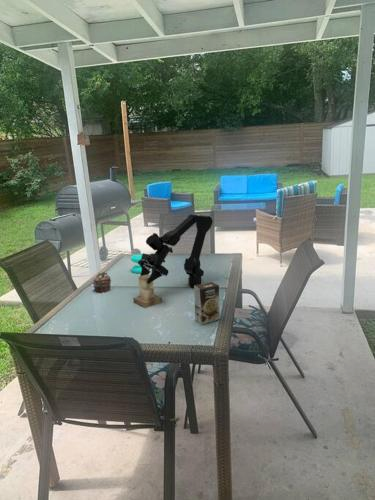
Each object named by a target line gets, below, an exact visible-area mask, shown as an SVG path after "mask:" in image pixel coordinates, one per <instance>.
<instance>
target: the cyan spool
mask: <svg viewBox="0 0 375 500" xmlns="http://www.w3.org/2000/svg"><path fill="white" fill-rule="evenodd" d="M142 254H143V253H142ZM142 254H140V253H139V254H134V255H132V256H131V257H130V260H131V262H132V263H134V264H135V263H136V264H135V265H134V266H132V268H131V272H132V273H134V274H141V271H142V269H141V266H140V265H139V264H138V261H139V260H141V257H142Z"/></svg>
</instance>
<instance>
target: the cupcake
mask: <svg viewBox="0 0 375 500" xmlns="http://www.w3.org/2000/svg"><path fill="white" fill-rule="evenodd" d="M111 283H112V280H111V276H110V275H108V273H107V272H105V271H103V272H101V273H100V272H98V274H96V276H95V277H94V279H93V282H92V285H93V288H94V291H95V293H98V294H101V293H102V294H104V293H107V292H110V290H111ZM103 292H104V293H103Z"/></svg>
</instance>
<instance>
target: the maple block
mask: <svg viewBox="0 0 375 500" xmlns="http://www.w3.org/2000/svg"><path fill="white" fill-rule="evenodd" d="M150 275H151V274H150ZM150 275H149V274H148V275H147V274H146V275H143V276H141V275H140V276H138V277H137V278H138V286H139V296H140V298H141V299H144V300H149V299H152V298H154V295H155V288H154V287H155V285H154V281H152V282H151V283H149V284H148V283H147V281H148V279H149V277H150Z"/></svg>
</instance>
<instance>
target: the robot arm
mask: <svg viewBox="0 0 375 500" xmlns="http://www.w3.org/2000/svg"><path fill="white" fill-rule="evenodd" d="M213 222H214V221H213V219H212V217H211V216H209V215H202V214H200V215H198V214H193V213H191V214H189V215H188V216H187V217H186V218H185V219H184V220H183V221H182V222H180V224H179V225H177V226H176V227H175V228H174V229H172V230H169V231H167V232H165V233H164V234H163V235H162V236H159V235H158V233H156V232H153V233H152V234H151V235H150V236H149V235H148V237H147V238H146V241H145V244H146V245H147V246H148V247H150V249H152V250H153V251H154V253H150V254H149V253H144V252H143V253H142V257H141V260H139V261H138V263H137V265H140V266H141V269H142V271H141V273H140V276H143V275H146V274H147V275H149V274H150V273H151V274H150V277H149V279H148V281H147V283H148V284H149V283H151V282H152V281H153V282H154V281H156V280H157V279H159V278H160V277H163V276H164V277H167V276H168V275H169V273H170V272H169V270H168V269H167V268H166V267H165V266H164V265H163V264H164V263H166V260H165V259H166V258H167V257H168V255H169V254H173V253H174V250H173V247H174V246H177V244H178V243H179V242H180V240H181V237H182V236H183V235H184V234H185V233H186V232H187V231H188V230H189V229H191V227H193V225H194V224H195V227H196V234H195V238H194V241H193V244H192V249H191V253H190V255H189V257H188V258H185V259H184V260H185V261H184V264H183V269H184V271H185V273H186V275H188V278H187V285H188V286H189V287H190V288H191V289H192V288H193V289H194V285H199V284H203V283H202V277H203V276H204V273H205V271H204V270H203V269H202V268H201V264H202V263H201V259H200V257H201V253H202V250H203V247H204V242H205V239H206V235H207V233H208V231H209V230H210V229H211V227H212V225H213ZM150 269H151V271H150Z"/></svg>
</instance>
